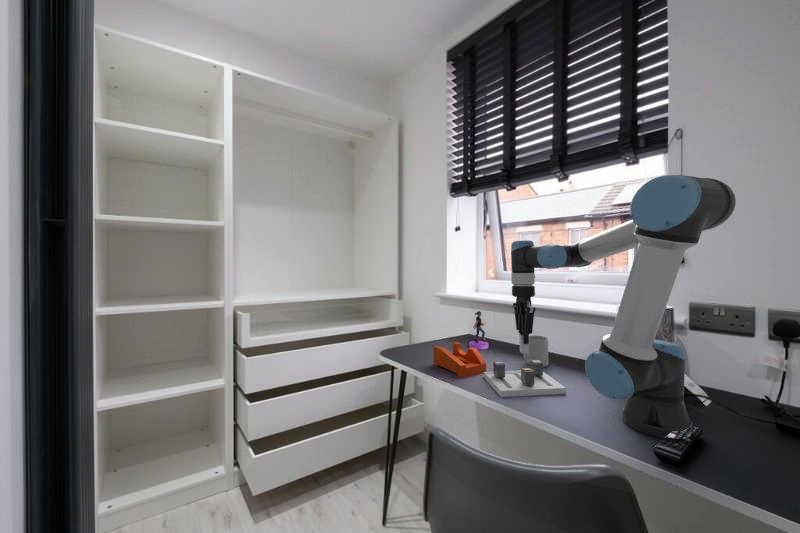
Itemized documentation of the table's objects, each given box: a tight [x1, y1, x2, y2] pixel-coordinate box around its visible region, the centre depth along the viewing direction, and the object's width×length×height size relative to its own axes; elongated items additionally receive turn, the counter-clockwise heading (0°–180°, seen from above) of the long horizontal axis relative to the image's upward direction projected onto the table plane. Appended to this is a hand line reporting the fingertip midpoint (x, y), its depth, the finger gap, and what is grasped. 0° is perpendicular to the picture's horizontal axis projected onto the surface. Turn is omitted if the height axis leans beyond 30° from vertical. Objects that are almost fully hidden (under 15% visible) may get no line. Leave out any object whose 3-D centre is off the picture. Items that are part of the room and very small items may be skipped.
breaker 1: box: [492, 361, 506, 378], centre depth 124 cm, size 4×3×5 cm
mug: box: [522, 335, 549, 368], centre depth 143 cm, size 12×8×11 cm
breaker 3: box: [529, 360, 544, 376], centre depth 125 cm, size 4×3×5 cm
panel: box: [483, 369, 567, 398], centre depth 121 cm, size 18×22×2 cm
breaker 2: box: [520, 367, 534, 385], centre depth 116 cm, size 4×3×5 cm
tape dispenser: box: [433, 341, 487, 379], centre depth 140 cm, size 18×13×8 cm
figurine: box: [468, 310, 489, 350], centre depth 171 cm, size 9×9×18 cm
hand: (524, 352), depth 119 cm, fingers closed
